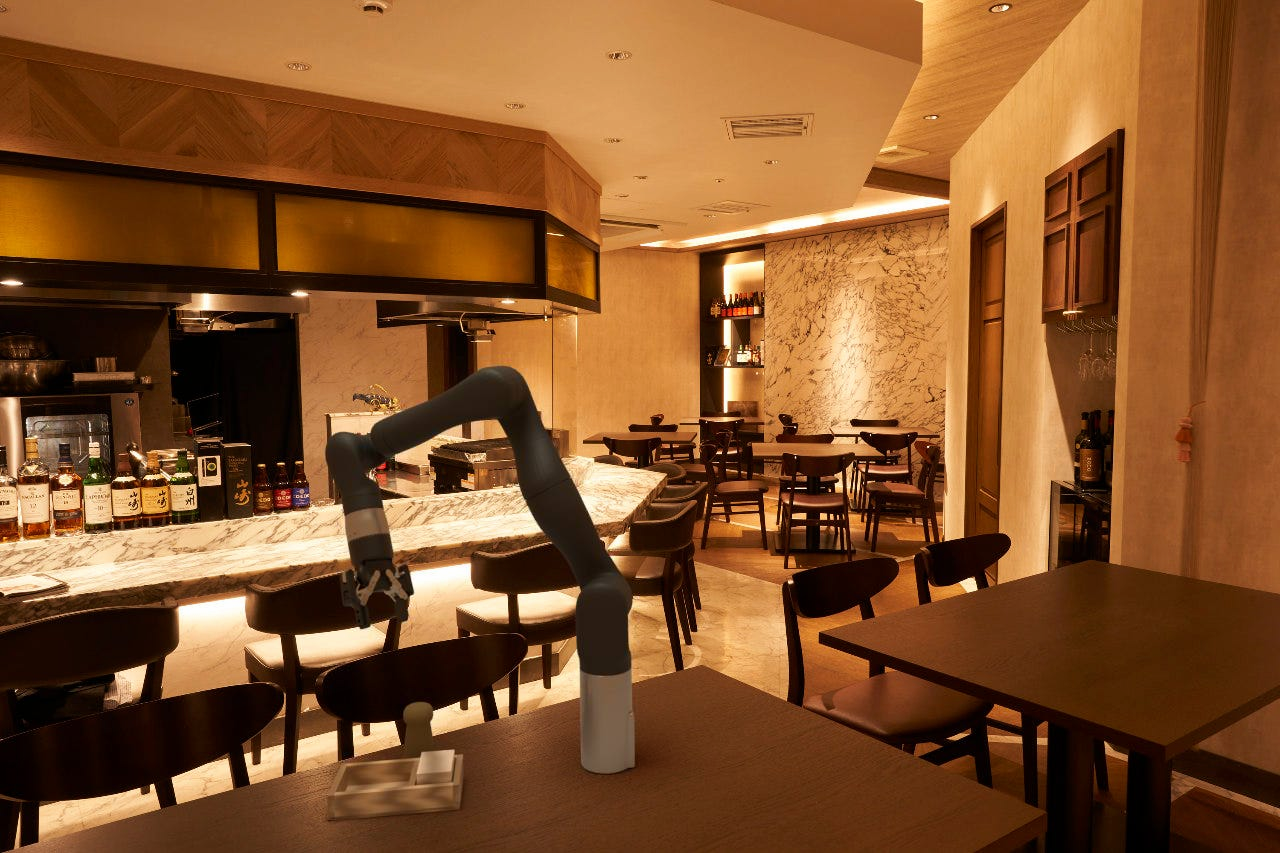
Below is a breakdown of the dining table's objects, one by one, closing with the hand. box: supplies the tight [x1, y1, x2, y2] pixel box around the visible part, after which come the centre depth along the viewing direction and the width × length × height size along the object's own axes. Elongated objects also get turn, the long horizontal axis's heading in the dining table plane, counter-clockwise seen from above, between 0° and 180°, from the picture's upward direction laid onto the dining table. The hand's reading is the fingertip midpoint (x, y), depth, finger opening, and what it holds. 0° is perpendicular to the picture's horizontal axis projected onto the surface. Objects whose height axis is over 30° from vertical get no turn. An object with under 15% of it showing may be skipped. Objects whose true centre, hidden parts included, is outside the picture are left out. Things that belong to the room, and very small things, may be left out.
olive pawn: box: [402, 701, 436, 759], centre depth 146 cm, size 6×6×11 cm
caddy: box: [327, 749, 464, 821], centre depth 134 cm, size 20×11×6 cm, turn 99°
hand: (384, 625), depth 146 cm, fingers open, 8 cm apart
